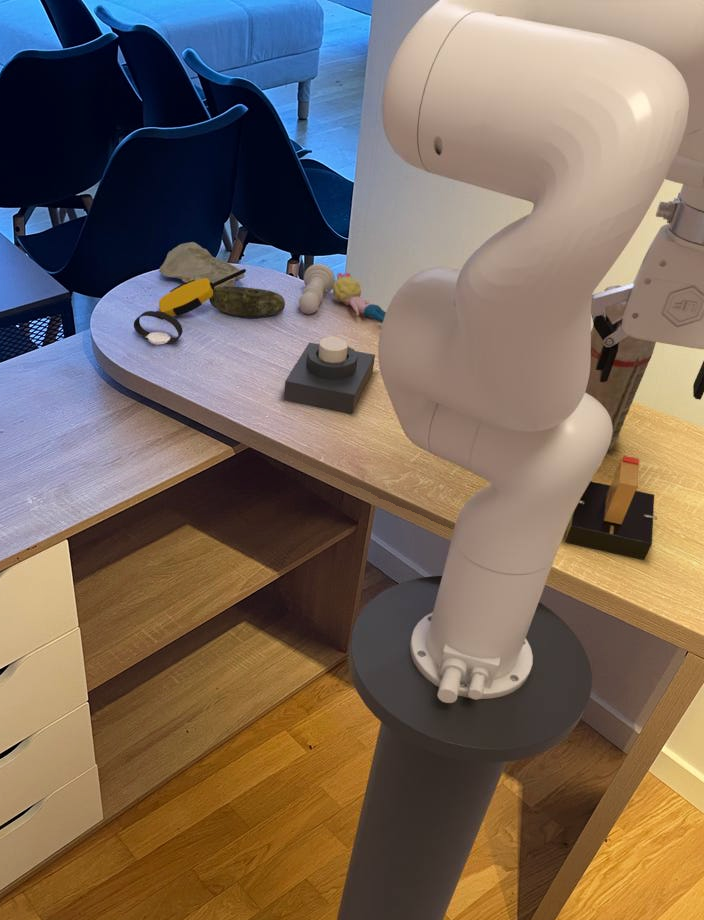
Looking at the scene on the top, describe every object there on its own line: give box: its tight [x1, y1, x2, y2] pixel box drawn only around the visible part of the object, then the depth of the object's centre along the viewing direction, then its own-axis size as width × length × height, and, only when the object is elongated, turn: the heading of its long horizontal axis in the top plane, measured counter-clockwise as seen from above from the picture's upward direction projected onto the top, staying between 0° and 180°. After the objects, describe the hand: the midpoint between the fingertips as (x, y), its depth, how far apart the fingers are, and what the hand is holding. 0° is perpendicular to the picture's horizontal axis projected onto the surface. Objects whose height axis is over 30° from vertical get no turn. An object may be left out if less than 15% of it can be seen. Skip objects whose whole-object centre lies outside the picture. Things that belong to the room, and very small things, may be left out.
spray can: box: [585, 285, 657, 452], centre depth 115 cm, size 8×8×20 cm
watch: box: [133, 310, 183, 345], centre depth 137 cm, size 8×5×4 cm
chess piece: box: [298, 263, 336, 315], centre depth 147 cm, size 5×5×9 cm
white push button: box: [318, 336, 349, 363], centre depth 126 cm, size 4×4×2 cm
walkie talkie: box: [158, 268, 247, 317], centre depth 142 cm, size 5×2×15 cm
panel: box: [564, 480, 658, 561], centre depth 108 cm, size 10×10×3 cm
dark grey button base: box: [283, 342, 376, 415], centre depth 128 cm, size 12×10×5 cm
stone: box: [158, 241, 246, 288], centre depth 153 cm, size 15×3×10 cm
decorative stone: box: [208, 286, 286, 319], centre depth 144 cm, size 12×5×4 cm, turn 101°
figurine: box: [332, 272, 386, 323], centre depth 144 cm, size 6×4×15 cm
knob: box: [604, 455, 640, 524], centre depth 105 cm, size 6×2×6 cm, turn 160°
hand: (649, 384), depth 97 cm, fingers open, 9 cm apart
